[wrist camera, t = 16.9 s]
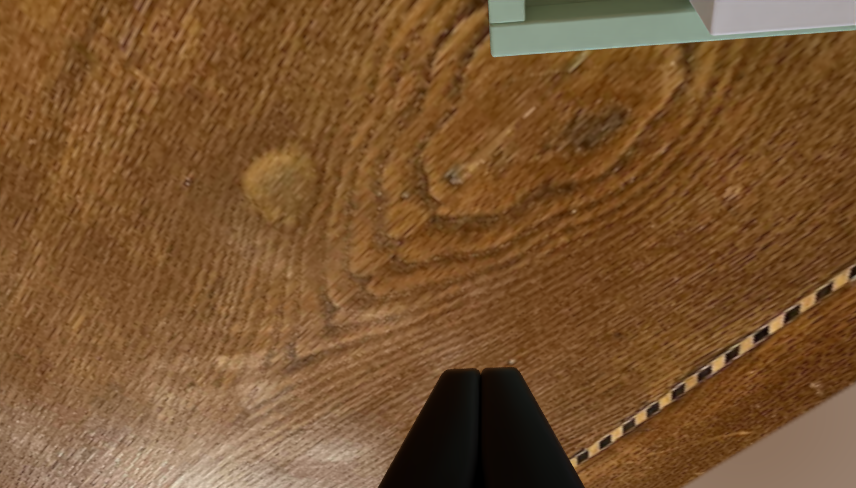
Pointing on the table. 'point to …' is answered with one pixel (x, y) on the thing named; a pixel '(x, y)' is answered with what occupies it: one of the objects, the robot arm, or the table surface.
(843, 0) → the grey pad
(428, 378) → the table surface
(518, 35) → the tray
